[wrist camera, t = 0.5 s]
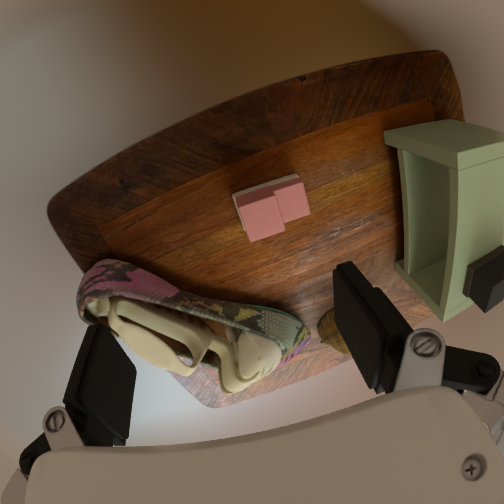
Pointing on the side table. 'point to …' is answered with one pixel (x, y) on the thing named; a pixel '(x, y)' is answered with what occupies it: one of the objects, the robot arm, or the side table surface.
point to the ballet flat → (188, 325)
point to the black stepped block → (486, 280)
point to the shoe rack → (448, 206)
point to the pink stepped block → (271, 206)
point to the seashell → (331, 333)
